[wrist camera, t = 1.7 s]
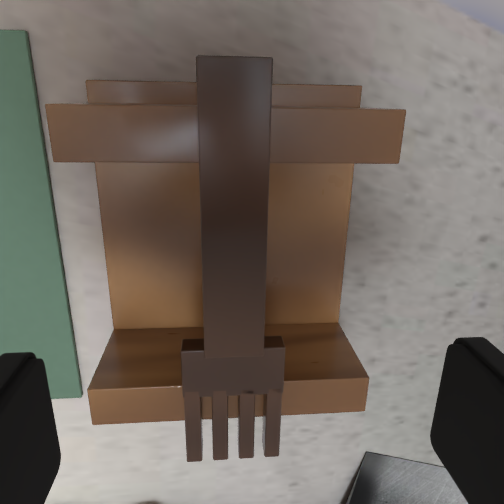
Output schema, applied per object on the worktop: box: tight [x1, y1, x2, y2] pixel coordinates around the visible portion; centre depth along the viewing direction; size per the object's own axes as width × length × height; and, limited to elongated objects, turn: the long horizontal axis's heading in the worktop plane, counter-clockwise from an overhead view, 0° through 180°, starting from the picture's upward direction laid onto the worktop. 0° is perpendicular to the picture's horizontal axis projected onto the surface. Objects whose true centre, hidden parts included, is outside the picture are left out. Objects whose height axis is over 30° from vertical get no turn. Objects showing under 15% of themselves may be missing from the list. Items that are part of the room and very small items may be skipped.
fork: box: [180, 55, 286, 462], centre depth 16 cm, size 17×4×2 cm, turn 179°
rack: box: [45, 80, 406, 425], centre depth 20 cm, size 16×13×6 cm
